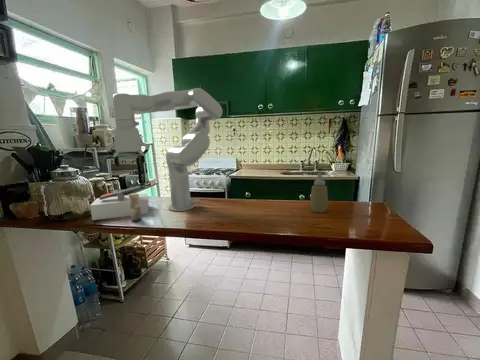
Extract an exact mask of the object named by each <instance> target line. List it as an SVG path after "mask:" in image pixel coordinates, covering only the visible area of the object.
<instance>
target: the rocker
mask: <svg viewBox="0 0 480 360" xmlns="http://www.w3.org/2000/svg"><path fill="white" fill-rule="evenodd" d="M140 189H141V185H137V186H133V187H129V188H126V189H120V190H121V191H119V190H117V191H114V192H110V193H106V194H103V195H101V196H99V197H98V198H99V199H100V200H102V199H106V198H110V197H116V196H117V193H122V194H124V195H125V194H127V193H131V192H135V191H139V190H140Z"/></svg>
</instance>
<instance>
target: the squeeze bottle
mask: <svg viewBox="0 0 480 360" xmlns="http://www.w3.org/2000/svg"><path fill="white" fill-rule="evenodd" d="M322 176H323V175H322V172H318V174H317V177H316V180H314V182H313V185H312V186H311V190H310V191H311V193H310V202H309V205H310V208H311V210H312V212H313V213H319V214H320V213H322V214H323V213H326V211H327V209H328V205H329V197H328V186H327V185H326V181H325V180H324V179H323V177H322Z"/></svg>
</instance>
